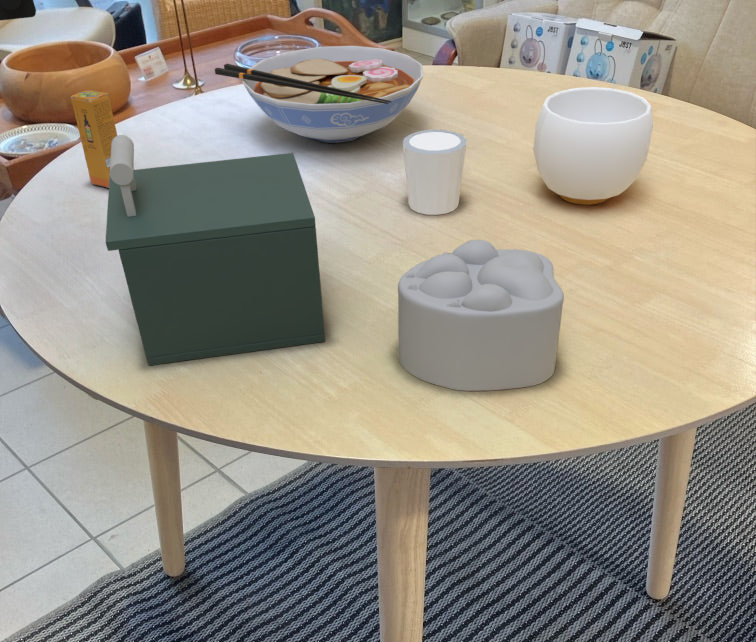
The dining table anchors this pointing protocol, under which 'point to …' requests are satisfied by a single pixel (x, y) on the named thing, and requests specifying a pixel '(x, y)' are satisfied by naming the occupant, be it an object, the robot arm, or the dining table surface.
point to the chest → (226, 294)
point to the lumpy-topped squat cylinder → (480, 318)
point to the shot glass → (434, 170)
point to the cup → (592, 142)
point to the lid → (202, 199)
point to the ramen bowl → (331, 89)
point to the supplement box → (95, 132)
